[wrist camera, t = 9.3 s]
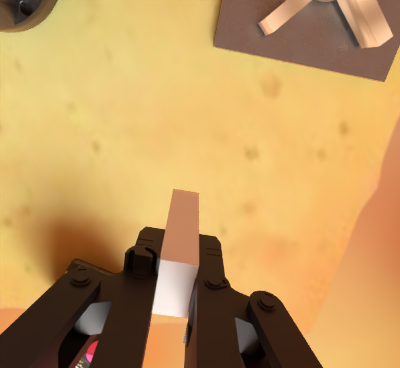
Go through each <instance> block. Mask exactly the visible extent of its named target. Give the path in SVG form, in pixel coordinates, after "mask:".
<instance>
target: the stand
mask: <svg viewBox="0 0 400 368" xmlns="http://www.w3.org/2000/svg"><path fill="white" fill-rule="evenodd" d="M284 1H285V0H222V3H221V9H220V14H219V20H218V25H217V31H216V36H215V42H214V48H219V49H224V50H229V51H234V52H239V53H243V54H248V55H253V56H258V57H263V58H268V59H273V60H277V61H282V62H287V63H292V64H297V65H302V66H306V67H311V68H316V69H321V70H326V71H331V72H335V73H340V74H345V75H350V76H355V77H360V78H364V79H369V80H374V81H381V82H385V79H386V77H387V74H388V72H389V70H390V67H391V65H392V62H393V60H394V57H395V55H396V52H397V50H398V48H399V45H400V0H377V2H378V4H379V7H380V9H381V11H382V13H383V15H384V17H385V19H386V21H387V24H388V26H389V28H390V30H391V32H392V34H393V37H391V38H390V39H389V40H387V41H386V42H385V43H383V44H382V45H381V46H379V47H369V48H361V46H360V44H359V43H358V41H357V39H356V37H355V35H354V33H353V31H352V29H351V27H350V25H349V23H348V21H347V19H346V17H345V15H344V13H343V11H342V10H341V8H340V6H339V4H338V2H337V0H334V1H331V2H320V1H317V0H312V1H311V2H309V3H308V4H307V5H306V6H304V7H303V8H302V9H301V10H300V11H298V12H297V13H296V14H295V15H294V16H292V17H291V18H290V19H289V20H288V21H286V22H285V23H284V24H283V25H282V26H280V27H279V28H278V29H277V30H276V31H274V32H273V33H271V34H268V35H265V34H264V32H263V30H262V29H261V27H260V26H259V24H258V23H259V22H260V21H261V20H263V19H264V18H265V17H266V16H267V15H269V14H270V13H271V12H272V11H273V10H274V9H276V8H277V7H278V6H279V5H280V4H281V3H283V2H284Z"/></svg>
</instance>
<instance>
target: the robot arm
mask: <svg viewBox="0 0 400 368" xmlns="http://www.w3.org/2000/svg"><path fill="white" fill-rule="evenodd" d="M56 2H57V0H0V31H1V32H21V31H25V30H28V29H31V28H33V27H35V26H37V25H38V24H40V23H41V22H42V21H43V20H44V19H46V17H47V16H48V15H49V14H50V13H51V11H52V10H53V8H54V6H55V4H56ZM188 312H189V315H188ZM152 313H153V314H160V315H168V316H176V317H183V318H187V317H188V323H187V328H186V332H185V336H184V341H183V343H185V363H184V368H323V367H322V365H321V364H320V362H319V361H318V359H317V357H316V356H315V354H314V353H313V351H312V350H311V348H310V347H309V345H308V343H307V342H306V340H305V338H304V337H303V335H302V334H301V332H300V330H299V329H298V327H297V326H296V324H295V322H294V321H293V319H292V318H291V316H290V315H289V313H288V311H287V310H286V308H285V307H284V305H283V303H282V302H281V301H280V300H279V299H278V298H277V297H276V296H274V295H273V294H271V293H269V292H266V291H255V292H253V293H252V294H251V295H250V297H249V296H247V295H244V294H242V293H239V292H237V291H235V290H234V289H233V288H231V287H230V283H229V281H228V280H227V279H226V278H225V273H224V265H223V258H222V251H221V243H220V242H219V240H218V239H217V238H216V237H215V236H208V235H202V234H199V193H196V192H190V191H184V190H177V189H173V194H172V199H171V204H170V210H169V215H168V220H167V225H166V230H165V229H158V228H152V227H145V228H144V229H143V230H141V231H140V233H139V236H138V239H137V241H136V245H135V246H133V247H131V248H129V249H128V250H127V251H126V253H125V260H124V270H123V271H122V272H120V273H118V274H115V275H110V276H101V275H100V273H99V272H98V271H97V270H95V269H93V268H90V267H77V268H74V269H71V270H70V271H68V272H67V273H65V274H64V275H63V276H62V277H61V278H60V279H59V280H58V281H57V282H56V283H55V284H53V285H52V286H51V287H50V288H49V289H48V290H47V291H46V292H45V293H44V294H43V295H42V296H41V297H40V298H39V299H38V300H37V301H36V302H34V303H33V304H32V305H31V306H30V307H29V308H28V309H27V310H26V311H25V312H24V313H23V314H22V315H21V316H20V317H19V318H18V319H17V320H15V322H13V323H12V324H11V325H10V326H9V327H8V328H7V329H6V330H5V331H4V332H3V333H2V334H1V335H0V368H75V367H76V365H77V364H78V362H79V361H80V359H81V358H82V356H83V355H84V353H85V352H86V350H87V349H88V347H89V346H90V344H91V343H92V342H93V340H94V339H95V337H96V334H100V333H101V335H100V338H99V340H98V343H97V346H96V349H95V351H94V354H93V357H92V360H91V363H90V365H89V368H142V366H143V360H144V355H145V349H146V344H147V338H148V333H149V327H150V322H151V315H152Z"/></svg>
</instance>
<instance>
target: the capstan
mask: <svg viewBox="0 0 400 368" xmlns="http://www.w3.org/2000/svg"><path fill="white" fill-rule="evenodd" d="M311 1H312V0H285V1H284V2H283V3H281V4H280V5H279V6H278V7H277V8H276V9H274V10H273V11H272V12H271V13H270V14H269V15H267V16H266V17H265V18H264V19H263V20H261V21H260V22H259V23H258V24H259V26H260V27H261V29H262V30H263V32H264V34H265V35H268V34H271V33H273V32H274V31H276V30H277V29H278V28H279V27H280V26H282V25H283V24H284V23H285V22H286V21H288V20H289V19H290V18H291V17H292V16H294V15H295V14H296V13H297V12H298V11H300V10H301V9H302V8H303V7H304V6H306V5H307V4H308V3H309V2H311ZM317 1H320V2H331V1H334V0H317ZM337 2H338V4H339V6H340V8H341V10H342V11H343V13H344V15H345V17H346V19H347V21H348V23H349V25H350V27H351V29H352V31H353V33H354V35H355V37H356V39H357V41H358V43H359V44H360V46H361V48H369V47H379V46H381V45H382V44H383V43H385V42H386V41H387V40H389V39H390V38H391V37H393V34H392V32H391V30H390V28H389V26H388V24H387V21H386V19H385V17H384V15H383V13H382V11H381V9H380V7H379V4H378V2H377V0H337Z"/></svg>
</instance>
